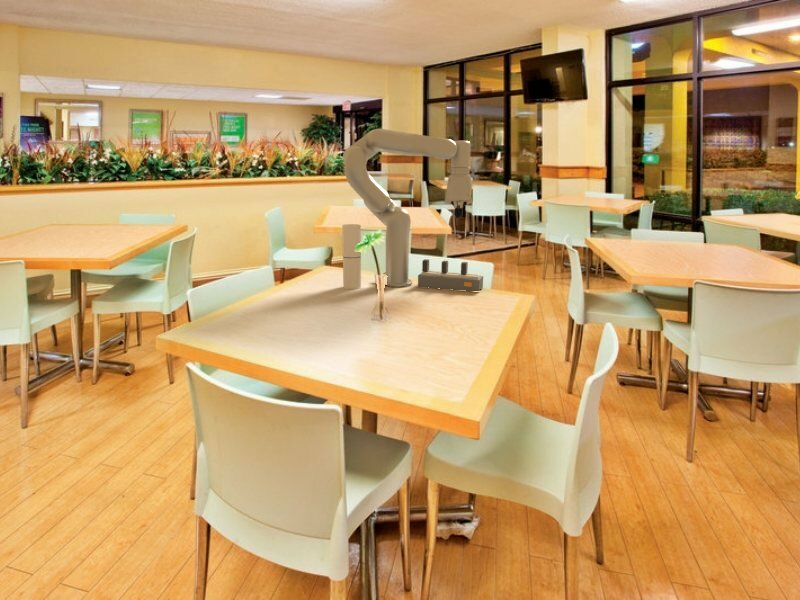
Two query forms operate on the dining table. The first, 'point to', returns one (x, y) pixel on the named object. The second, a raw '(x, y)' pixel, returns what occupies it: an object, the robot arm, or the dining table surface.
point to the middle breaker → (444, 267)
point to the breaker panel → (450, 280)
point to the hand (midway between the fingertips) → (458, 217)
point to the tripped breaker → (464, 267)
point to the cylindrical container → (351, 256)
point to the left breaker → (425, 265)
